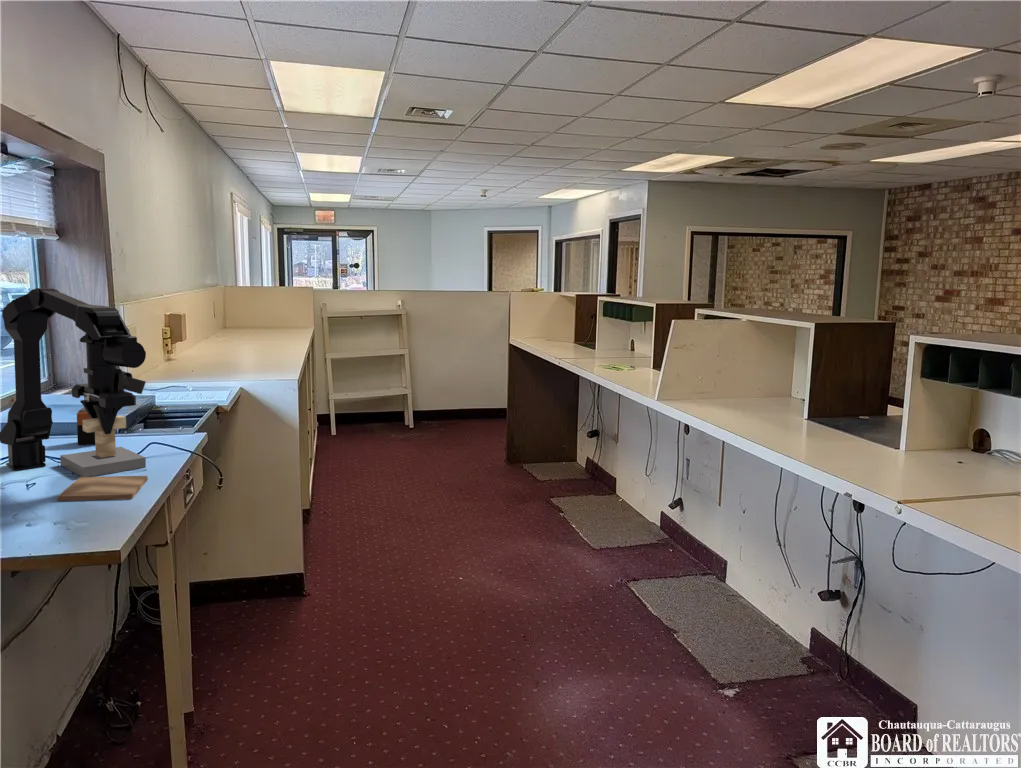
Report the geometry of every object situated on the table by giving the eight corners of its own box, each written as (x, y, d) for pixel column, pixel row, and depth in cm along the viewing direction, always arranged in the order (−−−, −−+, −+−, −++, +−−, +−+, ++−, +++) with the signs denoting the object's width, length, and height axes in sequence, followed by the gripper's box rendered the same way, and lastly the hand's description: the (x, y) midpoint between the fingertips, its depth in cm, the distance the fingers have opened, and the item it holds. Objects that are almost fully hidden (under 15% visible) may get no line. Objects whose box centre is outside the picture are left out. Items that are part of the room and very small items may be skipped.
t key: (89, 459, 147) (87, 421, 146) (83, 456, 149) (81, 419, 148) (127, 453, 154) (126, 417, 152) (121, 451, 155) (120, 415, 154)
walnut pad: (132, 498, 145) (132, 494, 145) (58, 500, 141) (57, 496, 141) (147, 479, 158) (147, 475, 158) (80, 481, 154) (79, 477, 154)
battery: (79, 441, 187) (78, 406, 186) (107, 440, 190) (107, 406, 189) (77, 445, 184) (76, 409, 182) (106, 444, 186) (105, 409, 185)
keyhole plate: (83, 477, 157) (83, 467, 156) (60, 465, 165) (60, 455, 165) (145, 467, 168) (145, 457, 167) (121, 455, 176) (121, 446, 176)
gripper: (159, 366, 149) (161, 434, 151) (121, 357, 160) (124, 421, 162) (105, 369, 140) (107, 442, 143) (69, 360, 151) (72, 427, 154)
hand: (104, 432), depth 151 cm, fingers closed on t key, 3 cm apart
